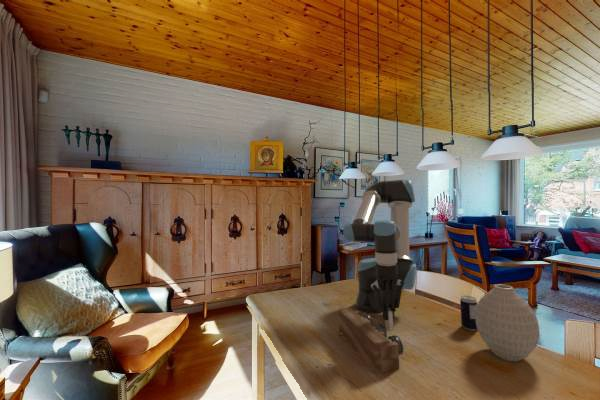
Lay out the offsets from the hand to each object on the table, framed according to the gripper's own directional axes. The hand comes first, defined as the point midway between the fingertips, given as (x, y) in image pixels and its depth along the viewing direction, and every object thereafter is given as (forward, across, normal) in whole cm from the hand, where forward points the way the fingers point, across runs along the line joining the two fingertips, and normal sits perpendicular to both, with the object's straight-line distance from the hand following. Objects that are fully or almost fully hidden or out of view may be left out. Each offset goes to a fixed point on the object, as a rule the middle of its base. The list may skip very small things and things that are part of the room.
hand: (389, 328), depth 94 cm
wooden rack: (+5, +9, +1) cm, 10 cm away
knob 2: (+3, +8, +1) cm, 8 cm away
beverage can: (+6, -36, 0) cm, 36 cm away
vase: (+6, -31, +18) cm, 36 cm away
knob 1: (+4, +8, -8) cm, 12 cm away
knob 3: (+3, +8, +10) cm, 13 cm away
